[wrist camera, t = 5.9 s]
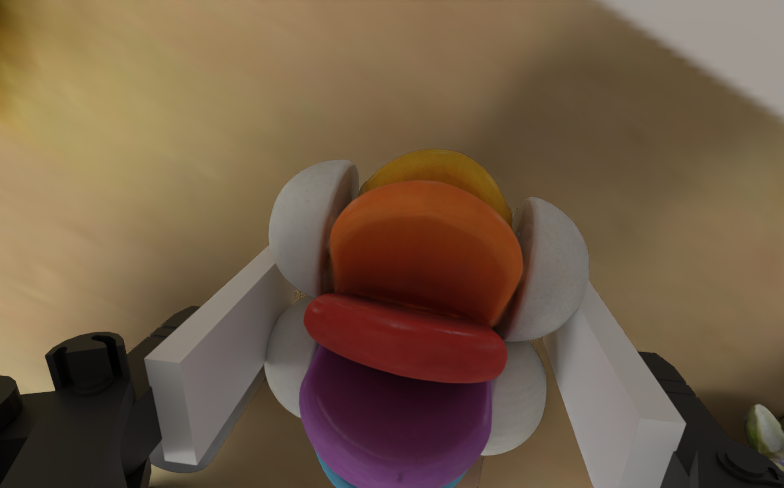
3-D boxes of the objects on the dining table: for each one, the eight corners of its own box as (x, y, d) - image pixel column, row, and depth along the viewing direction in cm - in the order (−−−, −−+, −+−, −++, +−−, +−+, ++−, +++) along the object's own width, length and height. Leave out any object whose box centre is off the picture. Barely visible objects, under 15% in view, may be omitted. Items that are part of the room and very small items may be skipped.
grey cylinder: (270, 396, 27) (221, 479, 21) (196, 385, 27) (129, 464, 22) (264, 328, 25) (209, 400, 19) (184, 318, 26) (108, 386, 20)
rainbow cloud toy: (587, 164, 13) (742, 260, 6) (507, 417, 16) (546, 657, 9) (308, 118, 13) (159, 156, 6) (290, 372, 17) (182, 567, 10)
